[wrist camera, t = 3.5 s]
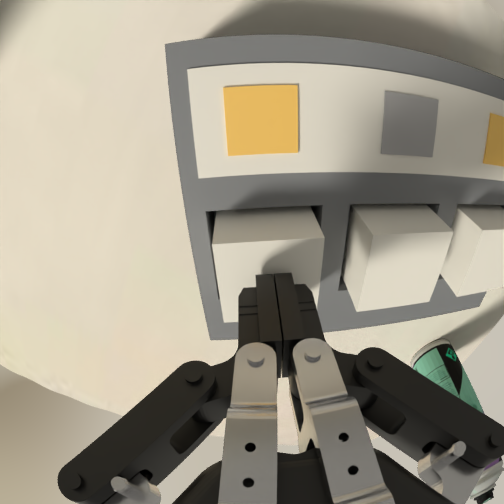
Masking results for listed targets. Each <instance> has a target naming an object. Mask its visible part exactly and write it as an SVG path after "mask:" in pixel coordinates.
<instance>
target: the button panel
mask: <svg viewBox="0 0 504 504" xmlns="http://www.w3.org/2000/svg"><path fill="white" fill-rule="evenodd" d="M165 51H166V63H167V75H168V85H169V95H170V104H171V113H172V122H173V130H174V138H175V146H176V153H177V160H178V167H179V174H180V181H181V188H182V194H183V200H184V207H185V213H186V219H187V225H188V230H189V236H190V242H191V247H192V253H193V258H194V263H195V269H196V274H197V279H198V284H199V289H200V294H201V299H202V304H203V308H204V313H205V318H206V322H207V327H208V331H209V336H210V340H231V339H238V322H227V323H224V321H223V314H222V308H221V302H220V295H219V289H218V282H217V275H216V269H215V262H214V255H213V248H212V241H213V233H214V226H215V218H216V211H219V210H234V209H250V208H268V207H288V206H310V207H311V209H312V211H313V213H314V215H315V217H316V219H317V222H318V224H319V226H320V228H321V230H322V233H323V235H324V237H325V241H324V251H323V261H322V270H321V279H320V288H319V296H318V304H317V312H318V315H319V319H320V323H321V327H322V331H323V332H332V331H341V330H349V329H357V328H364V327H372V326H378V325H385V324H392V323H398V322H404V321H410V320H416V319H421V318H427V317H432V316H437V315H442V314H447V313H452V312H457V311H461V310H466V309H471V308H475V307H479V306H480V304H481V302H482V300H483V298H484V296H485V294H486V292H487V291H485V292H480V293H475V294H470V295H465V296H460V297H456V295H455V294H454V292H453V291H452V289H451V288H450V287H449V285H448V284H447V282H446V281H445V280H444V278H443V277H442V275H441V274H440V275H439V277H438V280H437V283H436V285H435V288H434V291H433V293H432V296H431V298H430V301H429V302H425V303H418V304H412V305H405V306H398V307H391V308H384V309H376V310H368V311H360V312H357V311H356V309H355V306H354V304H353V301H352V299H351V296H350V294H349V292H348V289H347V287H346V284H345V282H344V279H343V277H342V275H341V274H342V268H343V261H344V255H345V248H346V241H347V233H348V225H349V217H350V208H351V204H409V203H418V204H426V205H427V206H428V207H429V208H430V209H431V210H432V211H433V212H435V213H436V214H437V215H438V216H439V217H440V218H441V219H442V220H443V221H444V222H445V223H446V224H447V225H448V226H449V227H450V228H451V227H452V223H453V219H454V216H455V212H456V208H457V204H482V205H500V206H501V207H502V208H504V79H502V78H499V77H497V76H494V75H492V74H489V73H487V72H484V71H482V70H479V69H476V68H473V67H471V66H468V65H465V64H462V63H459V62H455V61H452V60H449V59H446V58H442V57H439V56H435V55H431V54H428V53H424V52H420V51H415V50H411V49H407V48H402V47H397V46H392V45H387V44H381V43H375V42H369V41H362V40H354V39H346V38H337V37H325V36H311V35H240V36H225V37H214V38H204V39H196V40H188V41H181V42H175V43H169V44H165Z"/></svg>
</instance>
